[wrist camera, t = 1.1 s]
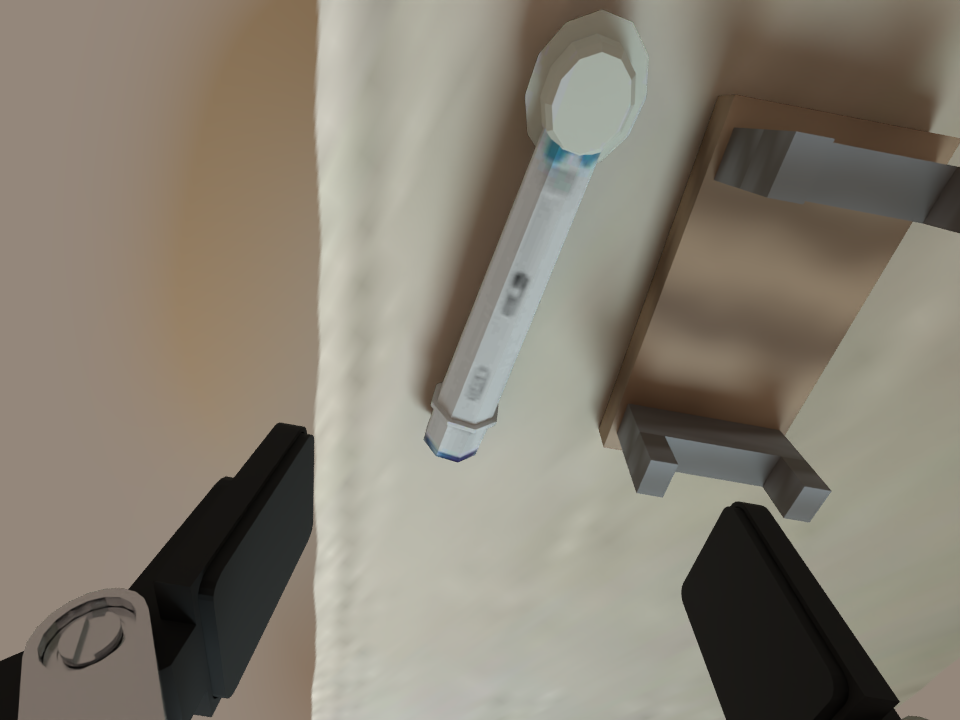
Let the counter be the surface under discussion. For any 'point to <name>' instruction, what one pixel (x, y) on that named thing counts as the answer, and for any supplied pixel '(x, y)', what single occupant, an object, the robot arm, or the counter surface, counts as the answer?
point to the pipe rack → (766, 289)
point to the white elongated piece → (540, 212)
